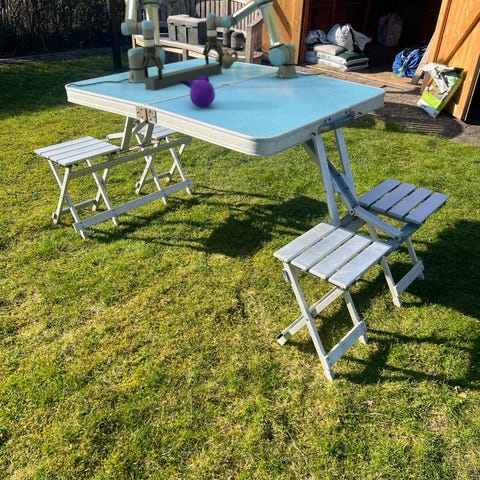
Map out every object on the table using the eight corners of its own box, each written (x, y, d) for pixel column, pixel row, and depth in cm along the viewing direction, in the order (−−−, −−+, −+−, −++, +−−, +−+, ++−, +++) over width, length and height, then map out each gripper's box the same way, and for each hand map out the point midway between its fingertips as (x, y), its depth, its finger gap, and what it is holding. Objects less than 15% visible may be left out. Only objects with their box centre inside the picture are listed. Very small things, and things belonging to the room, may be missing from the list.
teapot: (219, 70, 373) (218, 50, 365) (212, 68, 382) (211, 49, 374) (241, 67, 382) (240, 48, 375) (234, 65, 391) (233, 46, 383)
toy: (202, 98, 286) (215, 113, 265) (176, 93, 278) (186, 109, 258) (208, 73, 277) (221, 86, 257) (180, 67, 270) (192, 81, 249)
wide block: (154, 90, 311) (153, 79, 307) (145, 88, 315) (144, 77, 311) (221, 73, 362) (221, 63, 358) (213, 72, 366) (213, 62, 362)
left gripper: (167, 46, 298) (170, 79, 309) (141, 43, 311) (145, 75, 322) (159, 48, 293) (162, 81, 304) (133, 45, 306) (137, 77, 317)
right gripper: (227, 36, 343) (229, 65, 353) (203, 35, 356) (205, 63, 367) (221, 37, 338) (223, 66, 348) (196, 36, 351) (199, 64, 361)
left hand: (153, 78), depth 313 cm, fingers open, 13 cm apart
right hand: (214, 65), depth 357 cm, fingers open, 13 cm apart
